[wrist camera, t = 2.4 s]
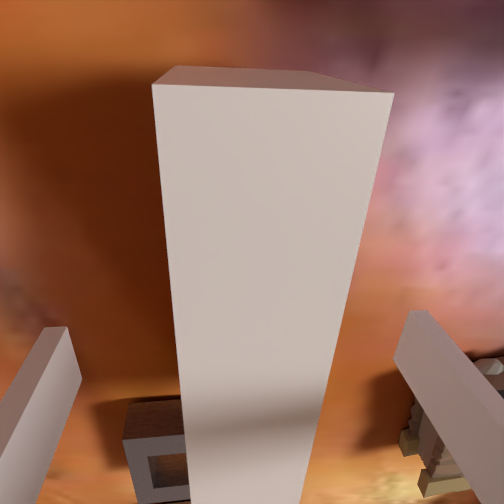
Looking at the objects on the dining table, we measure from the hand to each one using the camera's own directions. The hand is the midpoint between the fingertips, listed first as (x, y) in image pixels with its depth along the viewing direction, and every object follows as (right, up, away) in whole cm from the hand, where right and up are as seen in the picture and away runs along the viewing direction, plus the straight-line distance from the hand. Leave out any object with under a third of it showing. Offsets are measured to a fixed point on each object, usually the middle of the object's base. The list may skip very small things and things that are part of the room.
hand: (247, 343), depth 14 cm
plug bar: (-1, +3, +4) cm, 6 cm away
